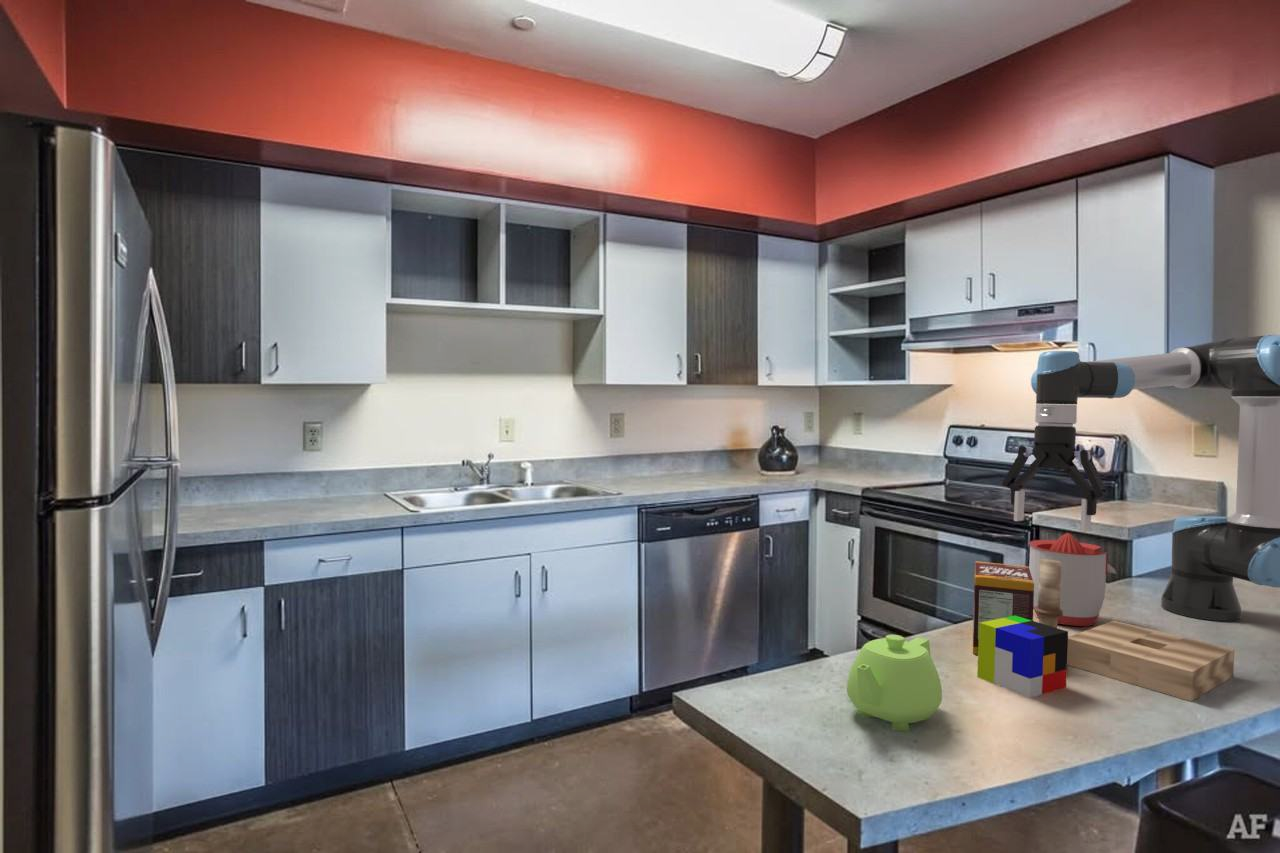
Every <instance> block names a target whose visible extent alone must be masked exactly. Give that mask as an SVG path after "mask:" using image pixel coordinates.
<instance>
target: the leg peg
mask: <svg viewBox="0 0 1280 853" xmlns="http://www.w3.org/2000/svg"><path fill="white" fill-rule="evenodd" d="M1060 585H1061V562H1059V561H1055V560H1047V559H1042V560H1040V564H1039V591H1038V606H1035V610H1034V613H1035V612H1036V613H1038V614H1039V617H1038V623H1042V624H1045V625H1048V626H1052V627H1055V628H1058V623H1057V621H1058V617H1059V616H1062V615H1063V610H1061V609H1060ZM1036 613H1035V614H1036Z"/></svg>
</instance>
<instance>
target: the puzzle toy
mask: <svg viewBox="0 0 1280 853" xmlns="http://www.w3.org/2000/svg"><path fill="white" fill-rule="evenodd" d="M1068 637H1069V631H1068V630H1065V629H1061V628H1058V627H1057V628H1055V627H1052V626H1048V625H1045V624H1042V623H1039V621H1035V620H1033V621H1032V620H1028V619H1025V618H1022V617H1018V616H1010V617H1005V618H1000V619H995V620H990V621H985V622H980V623H979V643H978V655H977V675H976V676H977V678H978V679H982V680H984V681H986V682H989V683H991V684H994V685H997V686H999V687H1000V688H1004V689H1006V690H1009V691H1011V692H1014V693H1017V694H1018V695H1021V696H1024V697H1027V698H1030V699H1031V698H1034V697H1038V696H1042V695H1044V694H1047V693H1048V694H1049V693H1051V692H1055V691H1058V690H1061V689H1066V688H1067V674H1068V673H1067V671H1068V665H1067V649H1068Z"/></svg>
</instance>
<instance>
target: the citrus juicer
mask: <svg viewBox="0 0 1280 853" xmlns="http://www.w3.org/2000/svg"><path fill="white" fill-rule="evenodd" d="M1028 545H1029V564H1028V565H1029V566H1028V567H1029V569H1030V573H1031V576H1032V579H1033V581H1034V606H1033V611H1034V613H1035V614H1036V617H1038V618H1039V614H1038V613H1036V612H1035V606H1038V591H1039V564H1040V560H1042V559H1047V560H1055V561H1059V562H1061V585H1060V609H1061V610H1063V615H1062V616H1059V617H1058V621H1057V624H1060V625H1065V626H1074V627H1075V626H1077V627H1078V626H1079V627H1083V628H1084V627H1085V628H1086V627H1089V626H1092V625H1095V623H1096V621H1097V619H1098V618H1099V616H1100V612H1101V609H1102V607H1103V605H1104V600H1105V596H1106V595H1105V593H1106V580H1107V575H1108V573H1110V574H1113V575H1117V571H1116V569H1115V568H1114V567H1113V566H1111V565H1110V564H1109V563H1108V562H1109V561H1108V559H1109V558H1108V557H1109V552H1108V551H1106V552H1102V546H1099V545H1096V544H1090V543H1085V542H1080V541H1079V540H1078V539H1077V538H1075V536H1073V535H1072V533H1069V532H1067V533H1064V534H1063V535H1061V536H1060V537H1059V538H1058V539H1035V540H1030V541H1029V542H1028Z"/></svg>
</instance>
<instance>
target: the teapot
mask: <svg viewBox="0 0 1280 853" xmlns="http://www.w3.org/2000/svg"><path fill="white" fill-rule="evenodd" d="M931 655H932V654H931V648H930V639H926V638H924V637H920V636H917V637H915V638H913V639H911V640H910V641H907V640H906V638H905V637H903V636H902V635H897V634H888V635H885V637H883V638H877V639H873V640H870V641H868V642H866V643H864V645H862V647H861V648H860V650H859V652H858V654H857V656H856V657H855V659H854V661H853V663H852V666H851V668H850V671H849V673H848V674H849V675H848V677H847V678H848V679H847V683H846V693H847V696H848V698H849V699H850V701H851V703H852V704H853V705H854V707H855V708H856V709H857V710H858V711H857V712H856V715H858V716H859V717H861V718H867V719H869V718H873V717H876V718H878V719H880V720H884V721H887V722H890V723H891V724H892V725H891V727H892V729H893V730H895V731H897V732H901V733H906V732H909V731H911V728H910V726H909V725H910V724H912V723H917V722H922V721H930V719H931V716H932V715H933V714H934V713H935V712H936V711H937V709H938V708H939V707H940V705H941V704H942V700H943V691H942V683H941V679H940V675H939V673H938V669H937V667H936V665H935V663H934V661H933V659H932V656H931Z"/></svg>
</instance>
